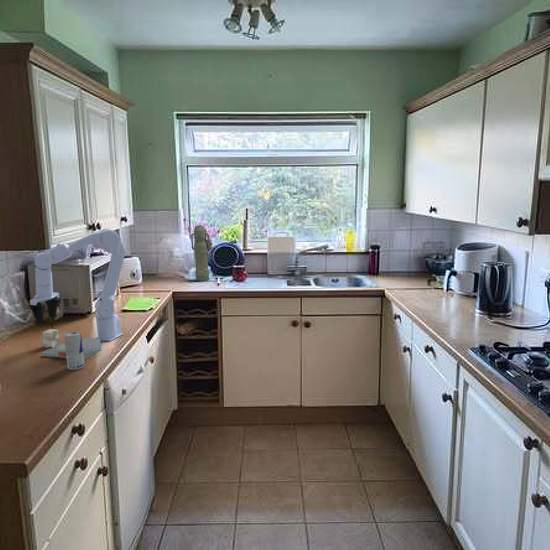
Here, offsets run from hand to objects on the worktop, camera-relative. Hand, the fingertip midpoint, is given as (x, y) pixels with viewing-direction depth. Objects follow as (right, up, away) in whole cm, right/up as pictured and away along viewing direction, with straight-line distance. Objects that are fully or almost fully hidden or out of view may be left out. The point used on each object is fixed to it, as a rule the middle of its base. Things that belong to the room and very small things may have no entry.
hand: (46, 319), depth 186 cm
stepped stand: (+12, -12, -6) cm, 18 cm away
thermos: (+41, +14, +129) cm, 136 cm away
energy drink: (+20, -15, -20) cm, 32 cm away
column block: (+1, -11, +4) cm, 11 cm away
